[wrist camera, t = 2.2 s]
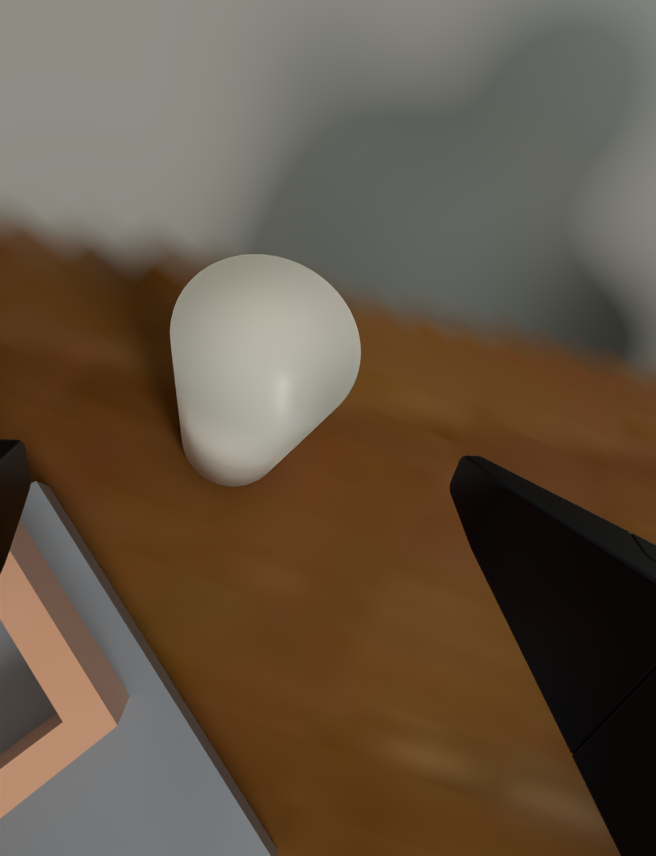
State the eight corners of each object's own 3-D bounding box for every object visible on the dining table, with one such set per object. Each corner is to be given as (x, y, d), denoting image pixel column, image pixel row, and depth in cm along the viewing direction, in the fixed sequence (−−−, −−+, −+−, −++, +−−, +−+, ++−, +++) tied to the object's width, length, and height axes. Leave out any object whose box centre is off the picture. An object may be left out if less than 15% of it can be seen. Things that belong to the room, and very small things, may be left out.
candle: (300, 452, 20) (393, 373, 11) (217, 506, 18) (242, 468, 9) (248, 374, 20) (295, 230, 11) (161, 421, 18) (129, 296, 9)
